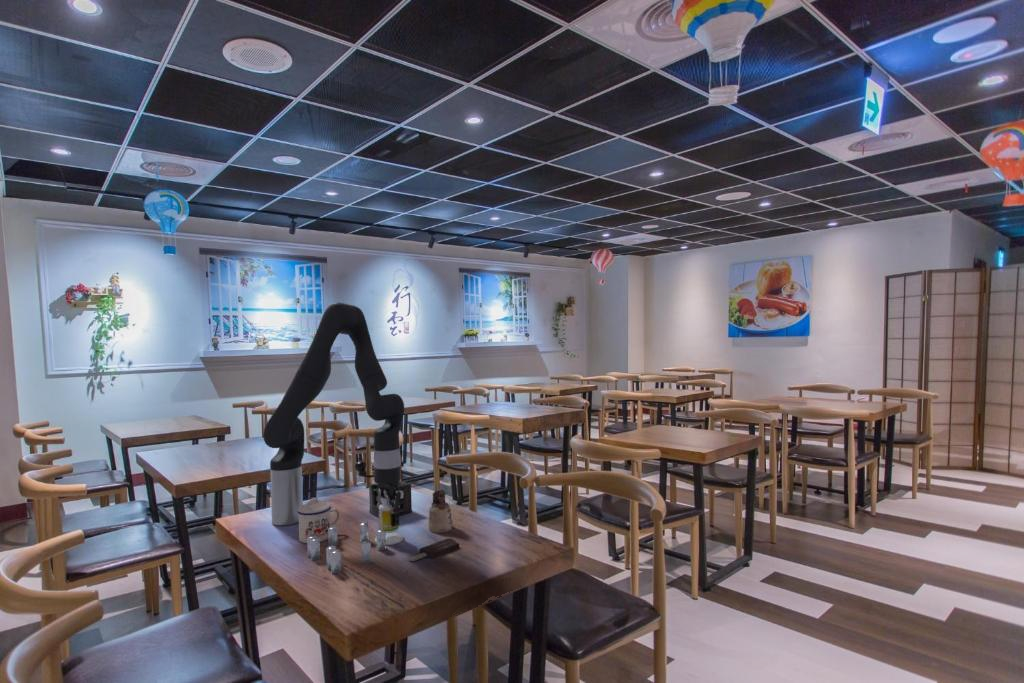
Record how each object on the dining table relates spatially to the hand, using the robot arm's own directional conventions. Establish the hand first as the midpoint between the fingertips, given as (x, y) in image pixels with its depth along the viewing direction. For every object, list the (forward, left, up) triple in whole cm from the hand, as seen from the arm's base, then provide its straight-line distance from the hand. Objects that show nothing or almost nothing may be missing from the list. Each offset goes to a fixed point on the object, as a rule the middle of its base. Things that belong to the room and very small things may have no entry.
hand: (388, 523), depth 151 cm
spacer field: (0, -13, -5) cm, 13 cm away
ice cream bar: (+17, +2, -5) cm, 18 cm away
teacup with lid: (-18, -12, -5) cm, 22 cm away
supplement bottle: (0, 0, -2) cm, 2 cm away
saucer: (0, 0, -5) cm, 5 cm away
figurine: (+5, +15, -5) cm, 17 cm away
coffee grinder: (-20, +11, -5) cm, 24 cm away
